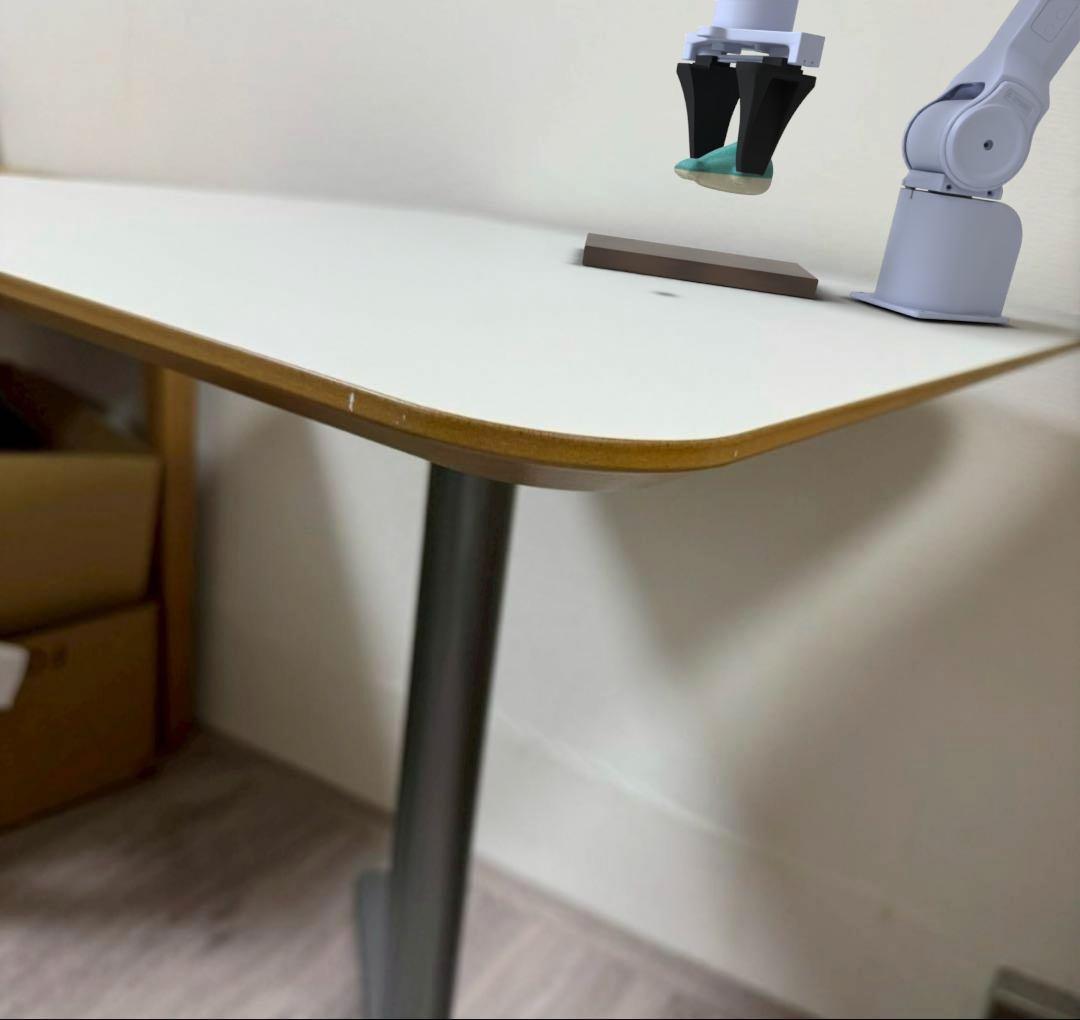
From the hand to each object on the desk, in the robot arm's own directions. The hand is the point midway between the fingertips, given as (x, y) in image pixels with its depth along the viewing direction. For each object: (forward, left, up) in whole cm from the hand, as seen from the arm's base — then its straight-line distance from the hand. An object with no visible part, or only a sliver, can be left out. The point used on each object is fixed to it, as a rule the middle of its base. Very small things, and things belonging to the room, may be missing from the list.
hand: (725, 168), depth 78 cm
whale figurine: (0, 0, -2) cm, 2 cm away
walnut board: (-2, -4, -8) cm, 10 cm away
